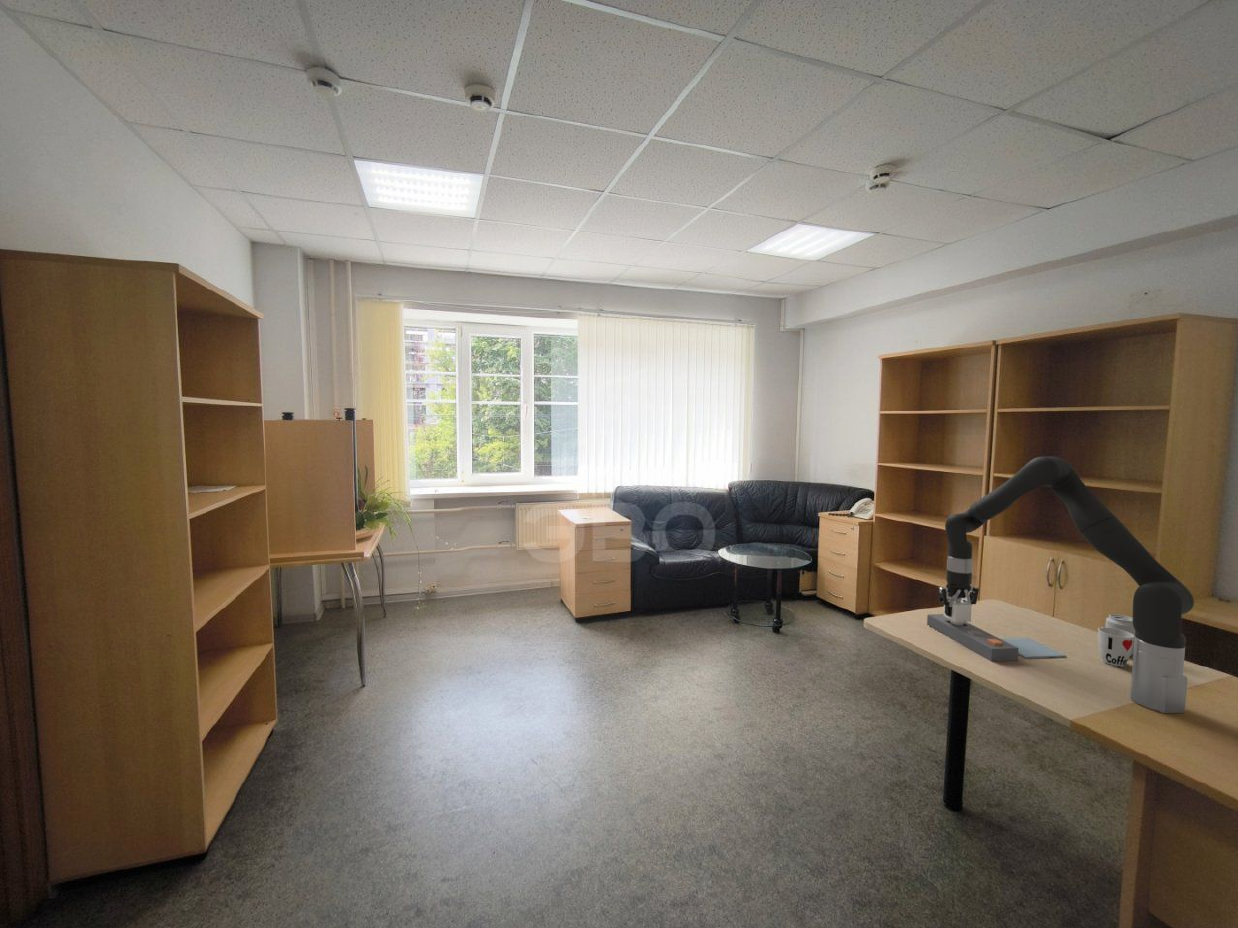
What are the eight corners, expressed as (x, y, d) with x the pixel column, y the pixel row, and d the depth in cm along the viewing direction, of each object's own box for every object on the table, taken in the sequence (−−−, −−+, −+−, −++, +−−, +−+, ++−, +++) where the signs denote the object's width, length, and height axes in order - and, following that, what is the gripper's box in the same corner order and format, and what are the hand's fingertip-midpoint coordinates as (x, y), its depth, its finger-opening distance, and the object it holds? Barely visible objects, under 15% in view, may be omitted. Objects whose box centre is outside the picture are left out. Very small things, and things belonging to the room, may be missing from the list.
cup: (1101, 665, 159) (1103, 634, 158) (1092, 655, 166) (1094, 625, 165) (1136, 671, 155) (1138, 639, 155) (1125, 660, 162) (1127, 630, 162)
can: (1121, 648, 172) (1124, 613, 171) (1142, 658, 164) (1145, 621, 164) (1097, 647, 173) (1100, 612, 172) (1116, 656, 165) (1119, 620, 164)
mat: (1065, 657, 165) (1066, 655, 165) (1025, 658, 164) (1025, 656, 164) (1028, 639, 179) (1028, 637, 179) (990, 640, 178) (990, 638, 178)
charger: (970, 626, 180) (971, 600, 179) (955, 627, 180) (956, 600, 179) (958, 620, 186) (959, 594, 185) (943, 621, 185) (944, 595, 185)
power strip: (1017, 660, 162) (1018, 645, 162) (991, 661, 162) (991, 646, 161) (949, 624, 192) (950, 611, 192) (927, 624, 192) (927, 612, 191)
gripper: (947, 572, 177) (945, 620, 178) (986, 571, 178) (984, 619, 179) (932, 566, 185) (930, 612, 186) (970, 566, 186) (968, 611, 187)
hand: (957, 615), depth 182 cm, fingers closed on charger, 5 cm apart
